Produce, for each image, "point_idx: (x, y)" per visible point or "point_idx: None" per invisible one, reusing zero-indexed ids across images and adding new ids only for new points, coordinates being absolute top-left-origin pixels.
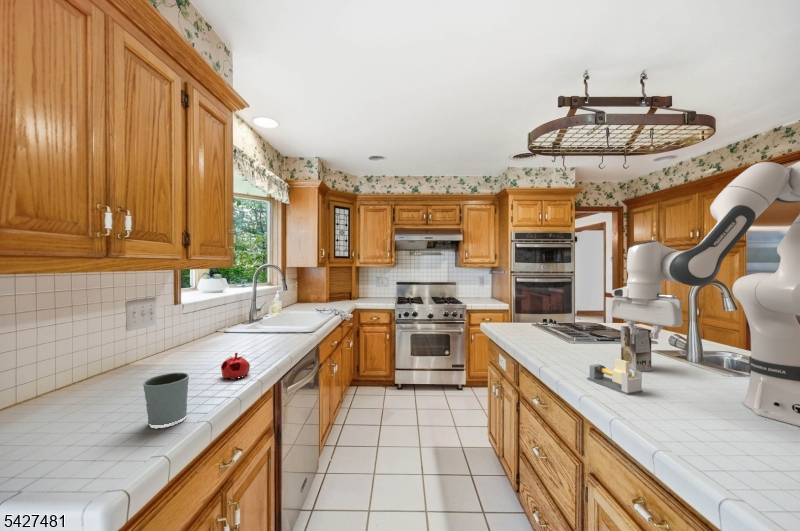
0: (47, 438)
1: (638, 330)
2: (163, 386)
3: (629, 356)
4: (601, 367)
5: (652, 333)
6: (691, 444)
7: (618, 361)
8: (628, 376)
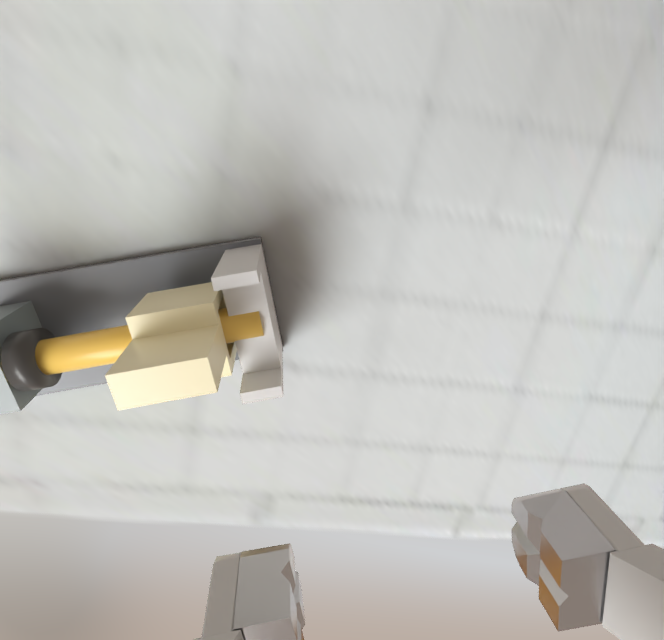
0: None
1: (290, 599)
2: None
3: None
4: (41, 380)
5: (603, 617)
6: (649, 446)
7: (155, 398)
8: (280, 380)
